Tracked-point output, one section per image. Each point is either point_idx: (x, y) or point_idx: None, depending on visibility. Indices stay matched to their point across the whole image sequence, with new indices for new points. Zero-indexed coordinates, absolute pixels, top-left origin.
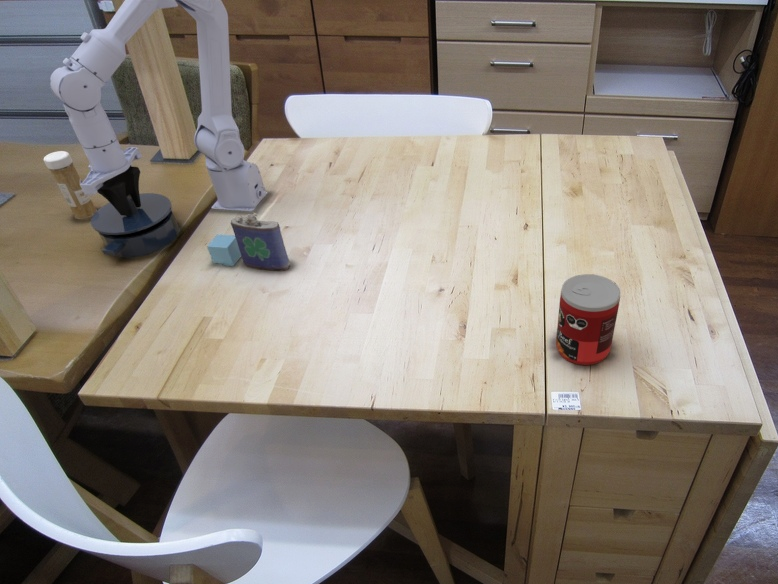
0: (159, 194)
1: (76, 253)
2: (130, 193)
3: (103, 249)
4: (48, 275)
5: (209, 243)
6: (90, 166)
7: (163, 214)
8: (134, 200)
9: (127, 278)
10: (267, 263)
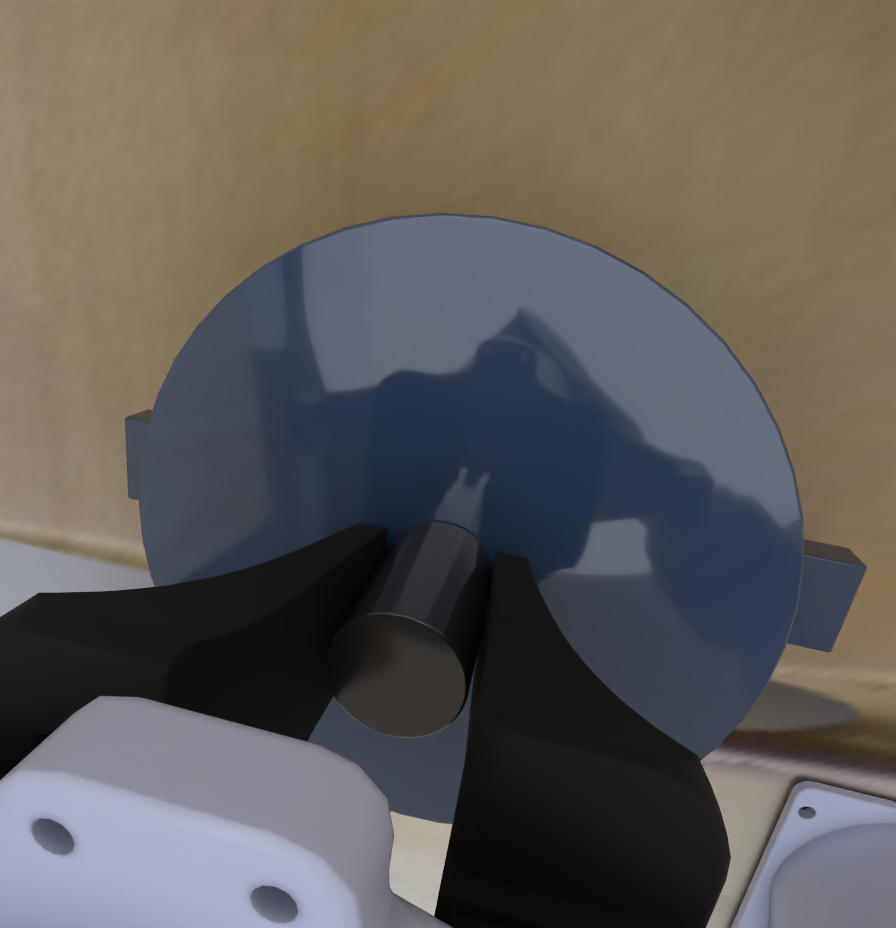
0: (743, 713)
1: (322, 54)
2: (476, 699)
3: (133, 425)
4: (78, 2)
5: None
6: (12, 848)
7: (399, 803)
8: (478, 661)
9: (135, 517)
10: None
